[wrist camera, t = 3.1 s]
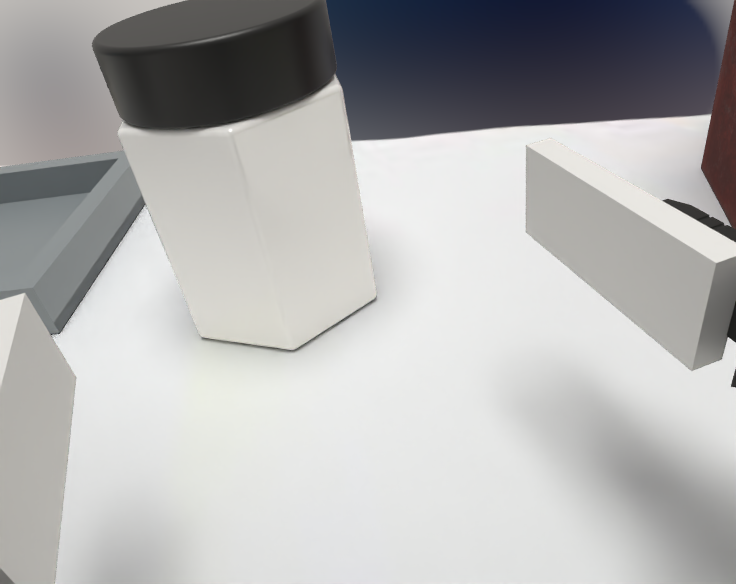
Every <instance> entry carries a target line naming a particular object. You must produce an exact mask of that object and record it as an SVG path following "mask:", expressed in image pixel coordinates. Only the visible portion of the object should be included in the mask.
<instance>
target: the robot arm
mask: <svg viewBox="0 0 736 584" xmlns="http://www.w3.org/2000/svg"><path fill="white" fill-rule="evenodd" d="M526 233H527V234H529V235H530V236H531V237H532V238H533V239H534V240H536V241H537V242H538V243H539V244H540V245H542V246H543V247H544V248H545V249H546V250H548V251H549V252H550V253H551V254H552V255H554V256H555V257H556V258H557V259H558V260H560V261H561V262H562V263H563V264H564V265H566V266H567V267H568V268H569V269H570V270H572V271H573V272H574V273H575V274H576V275H577V276H579V277H580V278H581V279H582V280H583V281H585V282H586V283H587V284H588V285H589V286H591V287H592V288H593V289H594V290H595V291H597V292H598V293H599V294H600V295H601V296H603V297H604V298H605V299H606V300H607V301H609V302H610V303H611V304H612V305H613V306H614V307H616V308H617V309H618V310H619V311H620V312H622V313H623V314H624V315H625V316H626V317H628V318H629V319H630V320H631V321H632V322H634V323H635V324H636V325H637V326H638V327H640V328H641V329H642V330H643V331H644V332H646V333H647V334H648V335H649V336H650V337H652V338H653V339H654V340H655V341H656V342H657V343H659V344H660V345H661V346H662V347H663V348H665V349H666V350H667V351H668V352H669V353H671V354H672V355H673V356H674V357H675V358H677V359H678V360H679V361H680V362H681V363H683V364H684V365H685V366H686V367H687V368H689V369H690V370H691V371H693V370H696V369H698V368H701V367H703V366H706V365H709V364H711V363H714V362H716V361H719V360H721V359H722V357H723V353H724V349H725V346H726V342H727V338H728V337H729V338H730V339H732V340H733V341H734V342H736V229H734V228H732V227H730V226H728V225H726V226H724V223H723V222H721V221H719V220H717V219H715V218H714V217H711V218H710V217H709V215H708V214H706V213H704V212H703V211H701V210H699V209H697V208H695V207H693V206H692V205H688V204H685V203H681V202H677V201H674V200H670V199H666V200H663V201H662V200H660V199H658V198H656V197H654V196H653V195H651V194H649V193H647V192H646V191H644V190H642V189H640V188H639V187H637V186H635V185H633V184H631V183H630V182H628V181H626V180H624V179H623V178H621V177H619V176H617V175H616V174H614V173H612V172H610V171H609V170H607V169H605V168H603V167H601V166H600V165H598V164H596V163H594V162H593V161H591V160H589V159H587V158H586V157H584V156H582V155H580V154H578V153H577V152H575V151H573V150H571V149H570V148H568V147H566V146H564V145H563V144H561V143H559V142H557V141H555V140H554V139H552V138H549V139H546V140H542V141H539V142H536V143H532V144H529V145H526ZM75 385H76V376H75V374H74V373H73V371H72V370H71V368H70V366H69V365H68V363H67V361H66V360H65V358H64V356H63V355H62V353H61V351H60V350H59V348H58V346H57V345H56V343H55V341H54V340H53V338H52V336H51V335H50V333H49V332H48V330H47V328H46V327H45V325H44V323H43V322H42V320H41V318H40V317H39V315H38V313H37V312H36V310H35V308H34V307H33V305H32V303H31V302H30V300H29V299H28V297H27V295H26V294H25V293H22V294H19V295H16V296H12V297H9V298H5V299H2V300H0V584H55V577H56V568H57V558H58V548H59V539H60V529H61V520H62V510H63V500H64V491H65V481H66V471H67V462H68V452H69V443H70V433H71V423H72V414H73V404H74V394H75ZM731 387H736V369H735V373H734V376H733V380H732V384H731Z"/></svg>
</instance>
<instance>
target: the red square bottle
mask: <svg viewBox="0 0 736 584" xmlns="http://www.w3.org/2000/svg"><path fill="white" fill-rule="evenodd" d="M701 169H702V171H703V173H704V175H705V177H706V178H707V180H708V182H709V184H710V186H711V188H712V190H713V192H714V193H715V195H716V197H717V199H718V201H719V203H720V205H721V207H722V209H723V210H724V212H725V214H726V216H727V218H728V220H729V222H730V224H731V225H732V227H733V228H734V229H736V0H735V1H734V5H733V10H732V15H731V20H730V25H729V30H728V35H727V40H726V45H725V50H724V56H723V60H722V65H721V70H720V75H719V80H718V85H717V90H716V96H715V100H714V105H713V110H712V115H711V120H710V125H709V130H708V135H707V140H706V145H705V150H704V155H703V160H702V165H701Z"/></svg>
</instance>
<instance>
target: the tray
mask: <svg viewBox="0 0 736 584" xmlns="http://www.w3.org/2000/svg"><path fill="white" fill-rule="evenodd" d="M144 205H145V201H144V199H143V196H142V194H141V192H140V189H139V187H138V184H137V182H136V179H135V177H134V174H133V172H132V170H131V167H130V165H129V162H128V160H127V157H126V155H125V152H124V151H118V152H110V153H102V154H95V155H87V156H80V157H73V158H65V159H57V160H51V161H42V162H35V163H28V164H20V165H12V166H5V167H0V300H2V299H5V298H9V297H12V296H16V295H19V294H22V293H25V294H26V295H27V297H28V299H29V300H30V302H31V303H32V305H33V307H34V308H35V310H36V312H37V313H38V315H39V317H40V318H41V320H42V322H43V323H44V325H45V327H46V328H47V330H48V332H49V333H50V334H54V333H60V332H61V330H62V328H63V327H64V325H65V324H66V322H67V321H68V319H69V318H70V316H71V315H72V313H73V312H74V310H75V309H76V307H77V306H78V304H79V303H80V301H81V300H82V298H83V297H84V295H85V294H86V292H87V291H88V289H89V288H90V286H91V285H92V283H93V282H94V280H95V279H96V277H97V276H98V274H99V273H100V271H101V270H102V268H103V267H104V265H105V264H106V262H107V261H108V259H109V258H110V256H111V255H112V253H113V251H114V250H115V248H116V247H117V245H118V244H119V242H120V241H121V239H122V238H123V236H124V235H125V233H126V232H127V230H128V229H129V227H130V226H131V224H132V223H133V221H134V220H135V218H136V217H137V215H138V214H139V212H140V211H141V209H142V208H143V206H144Z"/></svg>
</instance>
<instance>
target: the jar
mask: <svg viewBox="0 0 736 584" xmlns="http://www.w3.org/2000/svg"><path fill="white" fill-rule="evenodd" d="M92 47H93V51H94V53H95V56H96V58H97V61H98V63H99V66H100V69H101V71H102V73H103V76H104V78H105V81H106V83H107V87H108V88H109V90H110V93H111V96H112V98H113V101H114V103H115V106H116V108H117V111H118V113H119V115H120V117H121V118H122V119H123V121H122V123H121V125H120V127H119V129H118V132H117V134H118V138H119V140H120V143H121V145H122V148H123V150H124V152H125V155H126V157H127V160H128V162H129V165H130V167H131V170H132V172H133V174H134V177H135V179H136V182H137V184H138V187H139V189H140V192H141V194H142V196H143V199H144V201H145V204H146V206H147V209H148V211H149V214H150V216H151V218H152V221H153V223H154V226H155V228H156V231H157V233H158V236H159V238H160V240H161V243H162V245H163V248H164V250H165V253H166V255H167V258H168V260H169V262H170V265H171V267H172V270H173V272H174V275H175V277H176V279H177V282H178V284H179V287H180V289H181V292H182V294H183V297H184V299H185V301H186V304H187V306H188V309H189V311H190V314H191V316H192V319H193V321H194V323H195V326H196V328H197V331H198V333H199V335H200V336H201V337H204V338H210V339H217V340H224V341H231V342H238V343H245V344H252V345H259V346H266V347H273V348H281V349H288V350H294V349H297V348H298V347H300V346H301V345H303V344H304V343H306V342H308V341H309V340H311V339H312V338H314V337H315V336H317V335H319V334H320V333H322V332H323V331H325V330H326V329H328V328H330V327H331V326H333V325H334V324H336V323H337V322H339V321H341V320H342V319H344V318H345V317H347V316H348V315H350V314H351V313H353V312H355V311H356V310H358V309H359V308H361V307H362V306H364V305H366V304H367V303H369V302H370V301H372V300H373V299H375V297H376V296H377V290H376V284H375V279H374V273H373V267H372V261H371V255H370V249H369V243H368V237H367V231H366V225H365V220H364V214H363V208H362V202H361V196H360V190H359V184H358V178H357V172H356V166H355V161H354V155H353V149H352V143H351V137H350V131H349V125H348V119H347V113H346V107H345V102H344V96H343V90H342V87H341V85H340V83H339V81H338V79H337V77H336V75H335V72H336V69H337V64H336V58H335V52H334V47H333V40H332V35H331V29H330V23H329V18H328V11H327V5H326V0H187V1H183V2H179V3H175V4H171V5H167V6H163V7H160V8H157V9H153V10H150V11H147V12H144V13H141V14H138V15H136V16H133V17H130V18H127V19H125V20H122V21H120V22H118V23H115V24H113V25H111V26H110V27H108V28H106V29H104V30H103V31H101V32H100V33H99V34H98V35H97V36H96V37H95V38H94V40H93V43H92Z"/></svg>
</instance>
